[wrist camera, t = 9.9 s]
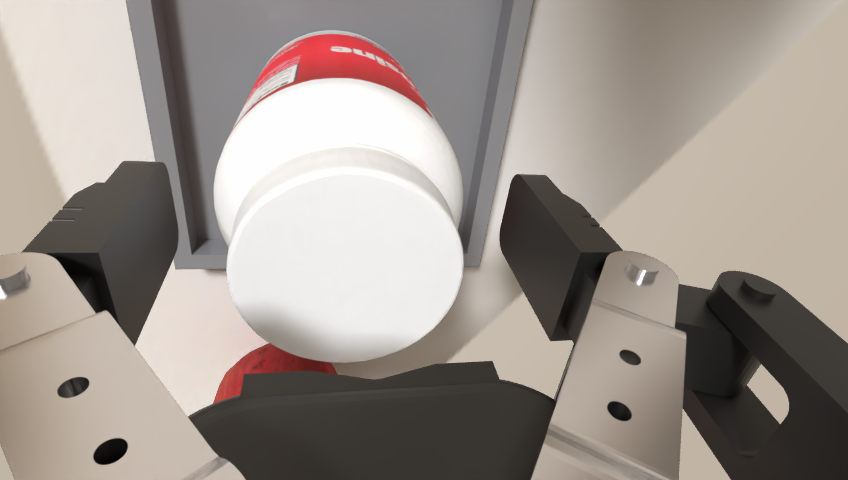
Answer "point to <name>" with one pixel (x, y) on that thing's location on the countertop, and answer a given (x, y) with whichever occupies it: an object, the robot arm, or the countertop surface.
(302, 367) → the onion
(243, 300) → the pill bottle
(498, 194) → the countertop surface
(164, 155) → the slate dish
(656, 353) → the robot arm
